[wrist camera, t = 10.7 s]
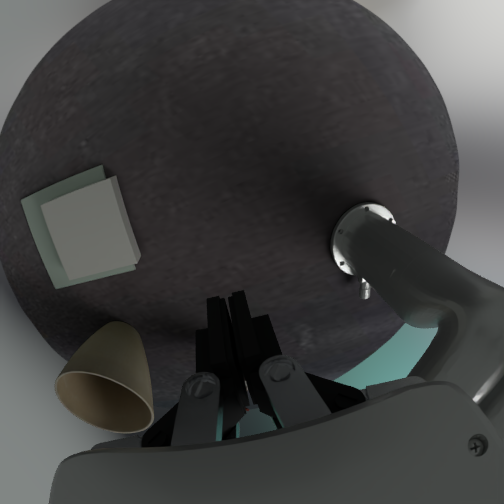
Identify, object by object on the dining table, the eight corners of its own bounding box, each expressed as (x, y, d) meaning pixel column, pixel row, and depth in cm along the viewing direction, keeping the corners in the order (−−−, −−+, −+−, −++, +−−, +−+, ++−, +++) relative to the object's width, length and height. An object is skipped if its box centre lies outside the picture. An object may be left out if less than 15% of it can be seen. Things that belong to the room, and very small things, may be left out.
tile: (137, 263, 35) (69, 280, 35) (141, 254, 38) (76, 272, 37) (110, 178, 30) (40, 205, 29) (116, 174, 33) (49, 200, 32)
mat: (135, 268, 39) (135, 269, 39) (56, 287, 38) (55, 289, 37) (102, 164, 32) (101, 165, 32) (22, 199, 31) (20, 200, 31)
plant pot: (177, 352, 47) (174, 425, 32) (115, 371, 47) (101, 436, 33) (131, 289, 40) (105, 361, 26) (69, 316, 40) (36, 381, 26)
